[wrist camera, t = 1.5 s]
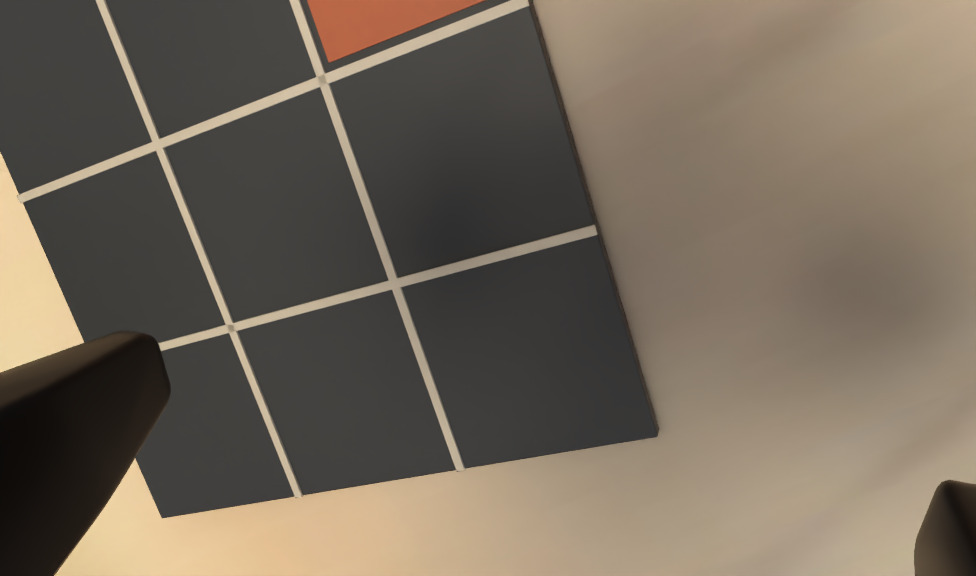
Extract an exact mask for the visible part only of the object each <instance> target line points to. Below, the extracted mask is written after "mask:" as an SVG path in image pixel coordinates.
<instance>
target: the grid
mask: <svg viewBox="0 0 976 576" xmlns="http://www.w3.org/2000/svg"><path fill="white" fill-rule="evenodd" d="M0 152H1V154H2V156H3V158H4V161H5V163H6V165H7V168H8V170H9V172H10V174H11V177H12V179H13V181H14V183H15V186H16V188H17V190H18V193H19V195H17V198H18V200H19V202H20V203H23V204H24V206H25V208H26V211H27V213H28V215H29V217H30V220H31V222H32V224H33V227H34V229H35V231H36V233H37V236H38V238H39V240H40V242H41V245H42V247H43V249H44V252H45V254H46V256H47V258H48V261H49V263H50V265H51V267H52V270H53V272H54V274H55V277H56V279H57V281H58V283H59V286H60V288H61V290H62V292H63V295H64V297H65V299H66V301H67V304H68V306H69V308H70V311H71V313H72V315H73V317H74V320H75V322H76V324H77V326H78V329H79V331H80V333H81V336H82V338H83V340H84V342H88V341H91V340H94V339H97V338H99V337H102V336H105V335H108V334H111V333H114V332H116V331H120V330H130V331H135V332H141V333H146V334H150V335H151V336H153V337H154V338H155V339H156V340H157V342H158V344H159V347H160V350H161V353H162V357H163V360H164V364H165V367H166V370H167V374H168V377H169V381H170V385H171V394H170V398H169V401H168V404H167V406H166V407H165V409H164V411H163V412H162V414H161V416H160V417H159V419H158V421H157V422H156V424H155V426H154V427H153V429H152V431H151V432H150V434H149V436H148V437H147V439H146V441H145V442H144V444H143V446H142V447H141V449H140V451H139V452H138V454H137V455H136V457H135V458H136V460H137V463H138V465H139V467H140V469H141V472H142V474H143V476H144V479H145V481H146V483H147V485H148V488H149V490H150V492H151V494H152V497H153V499H154V501H155V504H156V506H157V508H158V510H159V513H160V515H161V517H162V518H167V517H173V516H179V515H185V514H191V513H197V512H203V511H209V510H215V509H222V508H228V507H234V506H240V505H246V504H252V503H258V502H264V501H270V500H276V499H282V498H288V497H294V496H295V498H299V497H303V495H307V494H313V493H319V492H325V491H331V490H337V489H343V488H349V487H355V486H361V485H367V484H373V483H379V482H386V481H392V480H398V479H404V478H410V477H416V476H422V475H428V474H434V473H440V472H446V471H452V470H456V471H457V472H458V471H464V470H465V468H471V467H477V466H483V465H489V464H495V463H501V462H507V461H513V460H519V459H525V458H531V457H537V456H544V455H550V454H556V453H562V452H568V451H574V450H580V449H586V448H592V447H598V446H604V445H610V444H616V443H623V442H629V441H635V440H641V439H647V438H653V437H657V436H658V432H659V428H658V424H657V421H656V418H655V414H654V411H653V408H652V404H651V401H650V398H649V394H648V391H647V387H646V384H645V381H644V377H643V374H642V371H641V367H640V364H639V360H638V357H637V354H636V350H635V347H634V344H633V340H632V337H631V333H630V330H629V327H628V323H627V320H626V317H625V313H624V310H623V307H622V303H621V300H620V296H619V293H618V290H617V286H616V283H615V280H614V276H613V273H612V269H611V266H610V263H609V259H608V256H607V253H606V249H605V246H604V243H603V239H602V236H601V232H600V229H599V226H598V222H597V219H596V216H595V212H594V209H593V205H592V202H591V199H590V195H589V192H588V189H587V185H586V182H585V179H584V175H583V172H582V168H581V165H580V162H579V158H578V155H577V152H576V148H575V145H574V141H573V138H572V135H571V131H570V128H569V125H568V121H567V118H566V115H565V111H564V108H563V104H562V101H561V98H560V94H559V91H558V88H557V84H556V81H555V77H554V74H553V71H552V67H551V64H550V61H549V57H548V54H547V50H546V47H545V44H544V40H543V37H542V34H541V30H540V27H539V24H538V20H537V17H536V13H535V10H534V7H533V3H532V0H0Z"/></svg>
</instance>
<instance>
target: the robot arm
mask: <svg viewBox="0 0 976 576" xmlns="http://www.w3.org/2000/svg"><path fill="white" fill-rule="evenodd" d="M170 394H171V385H170V381H169V377H168V374H167V370H166V367H165V364H164V360H163V357H162V353H161V350H160V347H159V344H158V342H157V340H156V339H155V338H154V337H153V336H151V335H150V334H146V333H141V332H135V331H130V330H120V331H116V332H114V333H111V334H108V335H105V336H102V337H99V338H97V339H94V340H91V341H88V342H85V343H83V344H80V345H77V346H74V347H71V348H68V349H66V350H63V351H60V352H57V353H54V354H52V355H49V356H46V357H43V358H40V359H38V360H35V361H32V362H29V363H26V364H23V365H21V366H18V367H15V368H12V369H9V370H7V371H4V372H1V373H0V576H54V575H55V574H56V572H57V571H58V570H59V568H60V567H61V566H62V564H63V563H64V562H65V560H66V559H67V558H68V556H69V555H70V553H71V552H72V551H73V549H74V548H75V547H76V545H77V544H78V543H79V541H80V540H81V539H82V537H83V536H84V535H85V533H86V532H87V531H88V529H89V528H90V526H91V525H92V524H93V522H94V521H95V520H96V518H97V517H98V515H99V514H100V513H101V511H102V510H103V508H104V507H105V506H106V504H107V503H108V501H109V499H110V498H111V496H112V495H113V493H114V492H115V490H116V488H117V487H118V485H119V484H120V482H121V480H122V479H123V477H124V475H125V474H126V472H127V470H128V469H129V467H130V465H131V464H132V462H133V460H134V459H135V457H136V455H137V454H138V452H139V451H140V449H141V447H142V446H143V444H144V442H145V441H146V439H147V437H148V436H149V434H150V432H151V431H152V429H153V427H154V426H155V424H156V422H157V421H158V419H159V417H160V416H161V414H162V412H163V411H164V409H165V407H166V406H167V404H168V401H169V398H170ZM914 566H915V576H976V485H975V484H970V483H964V482H959V481H953V480H947V481H944V482H941V484H940V485H939V486H938V487H937V489H936V491H935V493H934V496H933V498H932V500H931V503H930V505H929V508H928V510H927V513H926V515H925V518H924V520H923V523H922V525H921V528H920V530H919V533H918V535H917V539H916V543H915V550H914Z"/></svg>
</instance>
